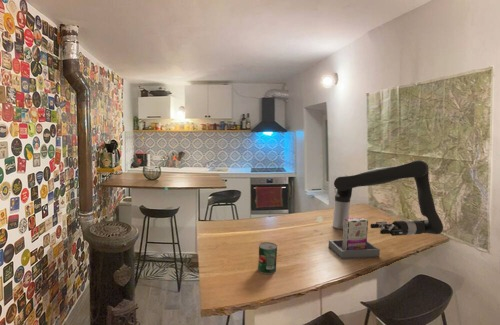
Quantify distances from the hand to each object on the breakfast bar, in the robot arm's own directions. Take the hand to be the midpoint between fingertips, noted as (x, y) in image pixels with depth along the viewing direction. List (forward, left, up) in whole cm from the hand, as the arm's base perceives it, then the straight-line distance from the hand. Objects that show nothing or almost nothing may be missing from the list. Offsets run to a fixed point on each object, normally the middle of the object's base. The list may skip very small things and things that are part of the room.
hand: (375, 228), depth 152 cm
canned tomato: (+13, -60, -12) cm, 62 cm away
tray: (0, -12, -12) cm, 17 cm away
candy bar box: (0, -11, -11) cm, 16 cm away
